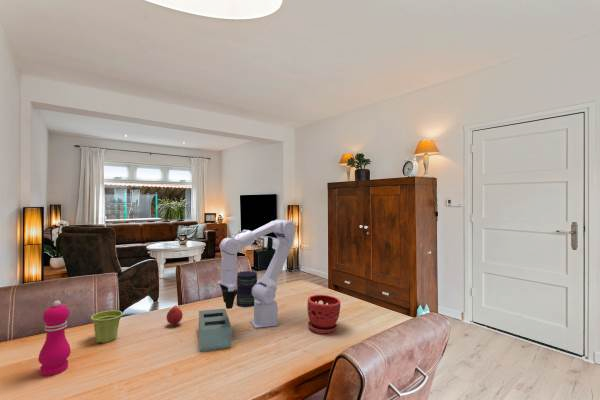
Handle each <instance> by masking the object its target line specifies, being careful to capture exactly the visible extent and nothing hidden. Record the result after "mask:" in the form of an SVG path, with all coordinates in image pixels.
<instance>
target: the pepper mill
mask: <svg viewBox="0 0 600 400" xmlns="http://www.w3.org/2000/svg"><path fill="white" fill-rule="evenodd" d="M61 303H62V302H61V301H60V300H58V299H57V300H55V301H53V303H52V306H50V307H48V308H47V309H46V310H45V311H44V312H43V314H42V321H43V322H44V323H45V325H44V331H45V333H46V336H45V341H44V343H43V346H42V347H41V350H40V352H39V353H38V354H39V355H38V363H39V364H41V366H40V369H39V375H41V376H42V377H43V376H44V377H48V376H50V377H51V376H55V375H58V374H60V373H62V372H64V371H66V370H67V369H68V368H69V367H68V366H69V360H68V358H69V357H70V355H71V354H72V353H71V351H72V350H71V346H70V344H69V341H68V340H67V337H66V333H65V330H66V328H67V326H68V321H67V320H68V318H69V317H70V309H69V308H68V307H67V306H66V305H62V304H61Z"/></svg>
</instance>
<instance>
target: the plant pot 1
mask: <svg viewBox="0 0 600 400" xmlns="http://www.w3.org/2000/svg"><path fill="white" fill-rule="evenodd" d="M123 315H124V314H123V312H122V311H121V310H115V309H114V310H104V311H99V312H97V313H94V314H93V315H91V316H90V317H91V318H90V319H91V320H92V323H93V326H94V328H93V329H94V336H95V343H103V344H105V343H109V342H112V341H114V340H115V339H116V338H117V335H118V329H119V325H120V321H121V318H122V316H123Z"/></svg>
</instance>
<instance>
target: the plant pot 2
mask: <svg viewBox="0 0 600 400" xmlns="http://www.w3.org/2000/svg"><path fill="white" fill-rule="evenodd" d="M319 302H322V303H319ZM340 313H341V300H340V299H339V298H337V297H335V296H333V295H325V294H314V295H310V296H309V297H308V298H307V316H308V319H309V321H308V322H307V326H308V328H309V329H310V330H311V331H312V332H315V333H317V334H330V333H333V332H334V331H335V330H336V329H337V327H338V326H337V325H338V324H337V322H338V320H339V317H340Z"/></svg>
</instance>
